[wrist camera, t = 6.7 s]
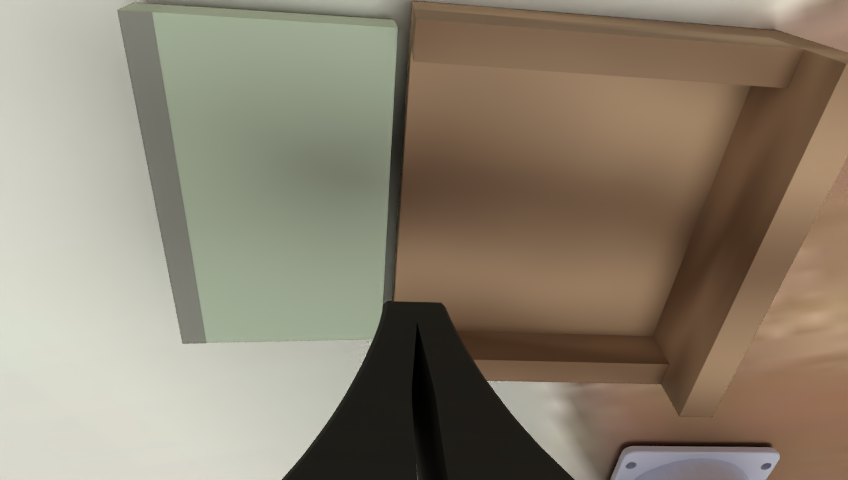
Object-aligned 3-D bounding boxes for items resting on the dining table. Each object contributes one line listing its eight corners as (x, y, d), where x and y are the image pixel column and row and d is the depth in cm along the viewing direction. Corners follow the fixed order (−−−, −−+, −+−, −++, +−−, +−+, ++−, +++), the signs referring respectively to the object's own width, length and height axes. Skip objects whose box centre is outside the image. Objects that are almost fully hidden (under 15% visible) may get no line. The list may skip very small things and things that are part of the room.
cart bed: (658, 331, 23) (712, 416, 19) (390, 323, 22) (391, 412, 18) (777, 30, 17) (893, 67, 13) (411, 0, 16) (418, 31, 12)
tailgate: (380, 339, 20) (182, 343, 19) (379, 317, 21) (190, 320, 20) (397, 28, 15) (117, 10, 14) (394, 19, 16) (133, 2, 15)
